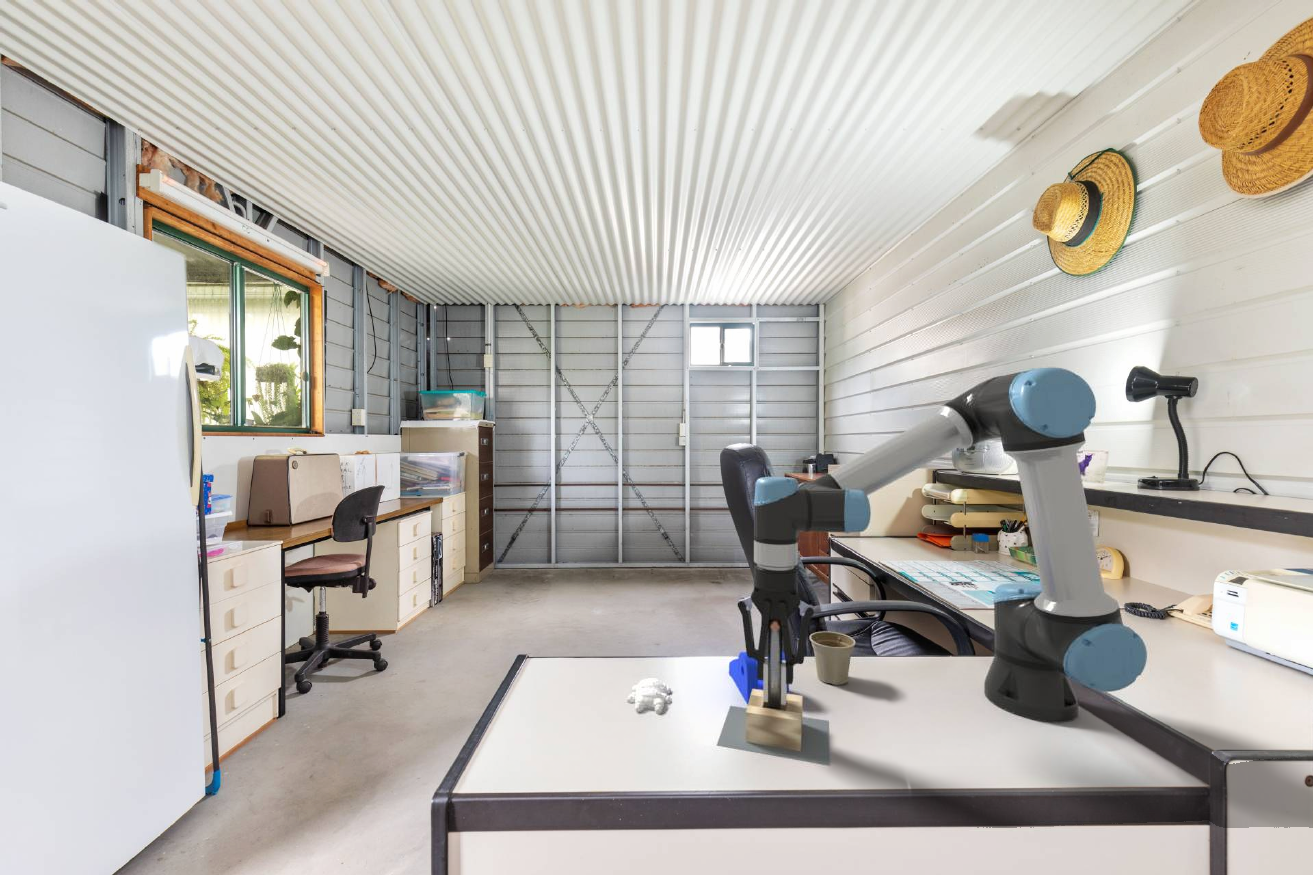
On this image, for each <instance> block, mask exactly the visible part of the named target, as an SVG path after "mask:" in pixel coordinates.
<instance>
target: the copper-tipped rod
mask: <svg viewBox="0 0 1313 875" xmlns="http://www.w3.org/2000/svg"><path fill="white" fill-rule="evenodd" d="M767 644H768V646H767V650H768V652H767V653H768V654H767V658H768V708H769V709H776V710H782V704H781V666H782V652H783V636H782V627H781V621H780V620H777V619H771V620H769V625H768V638H767Z"/></svg>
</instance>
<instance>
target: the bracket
mask: <svg viewBox="0 0 1313 875" xmlns="http://www.w3.org/2000/svg"><path fill="white" fill-rule="evenodd" d="M782 660H784V661H785V653H784V651H782ZM728 674H729V677H731V679H732V681H733V682H734V683H735V686H736V688H737V689H738V691H739V693H740V694H741V697H742V698H743V699H744V701H745V703H746V705H747V706H748V703H749V699H750V696H751V692H752V689H758V690H763V680H758V678H757V661H756V660H755V659H753V658H749V657H748V656H747V653H746V651H744V652H743V651H740V652H739V654H738V657H737V658H735V659H732V660H731V661H730V662H729V664H728ZM787 694H790V684H787Z"/></svg>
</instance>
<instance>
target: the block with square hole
mask: <svg viewBox="0 0 1313 875" xmlns="http://www.w3.org/2000/svg"><path fill="white" fill-rule="evenodd" d="M803 701H804V700H803V695H799V694H791V693H789V694H787V699H786V705H782V710H776V709H769V708H768V702H763V690H758V689H752V692H751V696H750V699H749V703H748V705H747V706H746V708H747V710H746V742H750V743H756V744H761V745H767V746H773V747H779V748H784V749H790V750H796V751H801V739H802V722H803V717H804V716H803V708H804V707H803V706H804V705H803V704H804V702H803Z"/></svg>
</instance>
